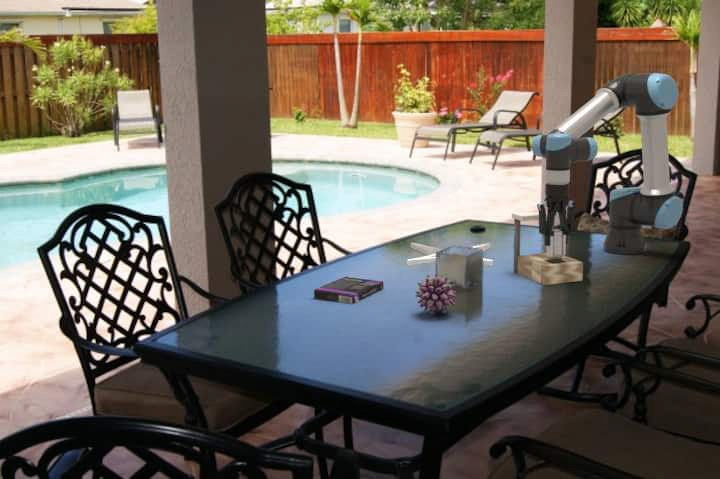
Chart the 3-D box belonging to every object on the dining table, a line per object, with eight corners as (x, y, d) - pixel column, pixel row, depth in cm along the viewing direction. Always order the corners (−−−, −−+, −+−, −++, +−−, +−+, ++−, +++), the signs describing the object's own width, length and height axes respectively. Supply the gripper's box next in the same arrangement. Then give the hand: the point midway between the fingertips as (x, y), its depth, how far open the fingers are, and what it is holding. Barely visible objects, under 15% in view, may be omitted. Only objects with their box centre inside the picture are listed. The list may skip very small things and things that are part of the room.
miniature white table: (552, 267, 317) (554, 209, 313) (563, 271, 311) (564, 212, 307) (511, 272, 311) (511, 213, 307) (520, 276, 306) (521, 216, 301)
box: (353, 307, 276) (384, 290, 293) (352, 295, 276) (384, 280, 292) (313, 300, 283) (346, 285, 300) (313, 289, 282) (346, 274, 299)
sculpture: (406, 259, 323) (410, 242, 352) (406, 267, 324) (410, 248, 353) (493, 260, 320) (490, 242, 349) (493, 267, 321) (490, 249, 350)
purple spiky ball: (429, 322, 256) (429, 280, 254) (407, 312, 267) (407, 271, 264) (464, 316, 261) (464, 275, 259) (441, 306, 272) (441, 266, 270)
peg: (564, 267, 299) (565, 230, 296) (553, 268, 298) (554, 231, 295) (557, 264, 303) (558, 228, 300) (546, 266, 301) (547, 229, 299)
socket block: (554, 269, 314) (554, 251, 313) (582, 280, 299) (583, 262, 297) (517, 273, 310) (517, 255, 308) (544, 284, 294) (544, 266, 293)
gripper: (574, 179, 301) (572, 250, 306) (527, 183, 295) (526, 255, 300) (587, 182, 294) (585, 254, 299) (540, 186, 288) (538, 259, 293)
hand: (555, 254), depth 299 cm, fingers closed on peg, 4 cm apart
